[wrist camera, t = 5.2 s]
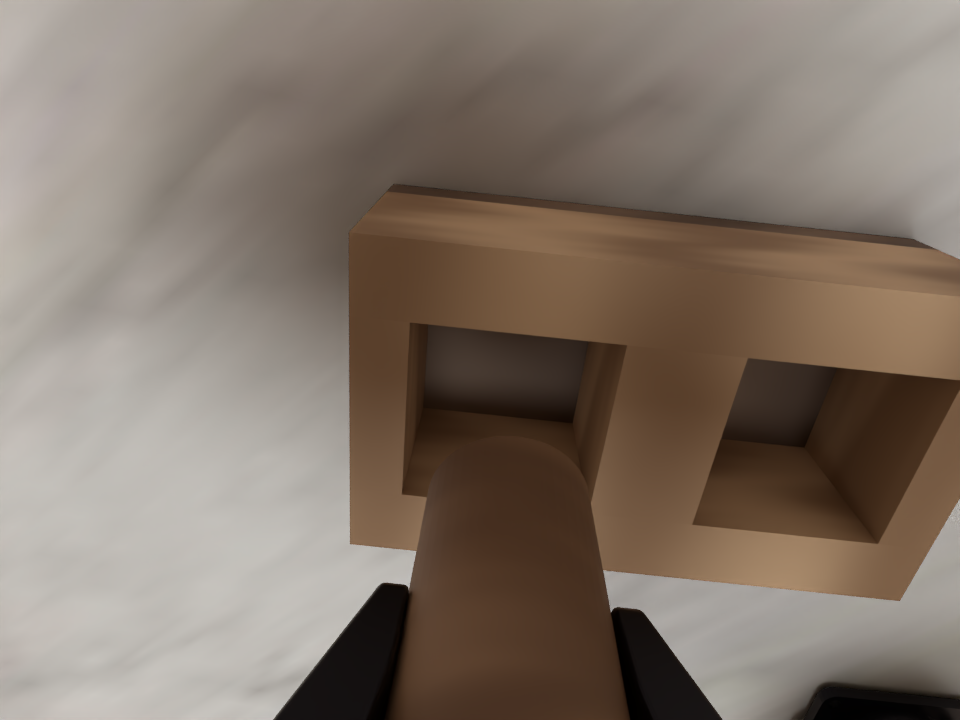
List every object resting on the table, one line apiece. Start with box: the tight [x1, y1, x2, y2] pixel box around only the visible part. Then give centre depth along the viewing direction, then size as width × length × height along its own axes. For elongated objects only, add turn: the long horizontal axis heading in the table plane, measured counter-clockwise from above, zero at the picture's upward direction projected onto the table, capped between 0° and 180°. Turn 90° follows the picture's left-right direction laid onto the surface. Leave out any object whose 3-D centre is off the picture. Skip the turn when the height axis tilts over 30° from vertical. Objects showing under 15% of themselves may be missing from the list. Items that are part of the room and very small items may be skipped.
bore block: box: [349, 184, 960, 601], centre depth 16 cm, size 14×8×5 cm, turn 85°
